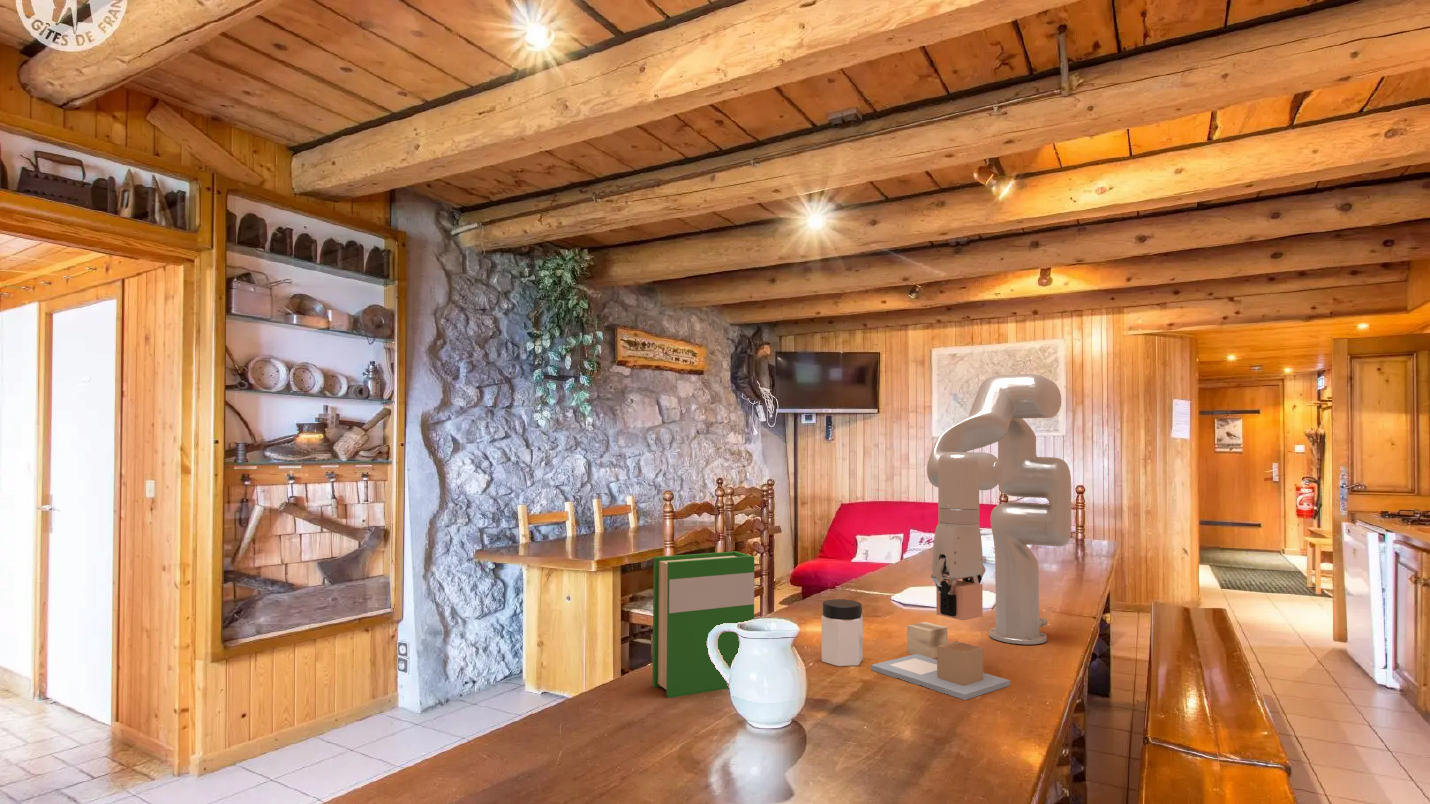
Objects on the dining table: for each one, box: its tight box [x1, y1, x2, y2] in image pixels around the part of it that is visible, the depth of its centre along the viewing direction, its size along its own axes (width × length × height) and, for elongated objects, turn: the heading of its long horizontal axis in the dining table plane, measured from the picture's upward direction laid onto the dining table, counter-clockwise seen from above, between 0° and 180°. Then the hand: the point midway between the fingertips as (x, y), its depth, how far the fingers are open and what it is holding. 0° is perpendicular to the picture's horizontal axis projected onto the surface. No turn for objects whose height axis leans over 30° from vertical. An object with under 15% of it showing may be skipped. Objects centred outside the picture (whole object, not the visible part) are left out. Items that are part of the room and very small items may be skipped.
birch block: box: [906, 621, 949, 659], centre depth 168 cm, size 6×6×6 cm
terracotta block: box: [935, 579, 984, 621], centre depth 147 cm, size 6×6×6 cm
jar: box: [821, 598, 864, 667], centre depth 162 cm, size 9×8×12 cm
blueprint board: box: [870, 640, 1011, 701], centre depth 151 cm, size 14×22×7 cm, turn 37°
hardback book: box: [651, 551, 755, 699], centre depth 146 cm, size 18×7×24 cm, turn 117°
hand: (959, 611), depth 147 cm, fingers closed on terracotta block, 6 cm apart
